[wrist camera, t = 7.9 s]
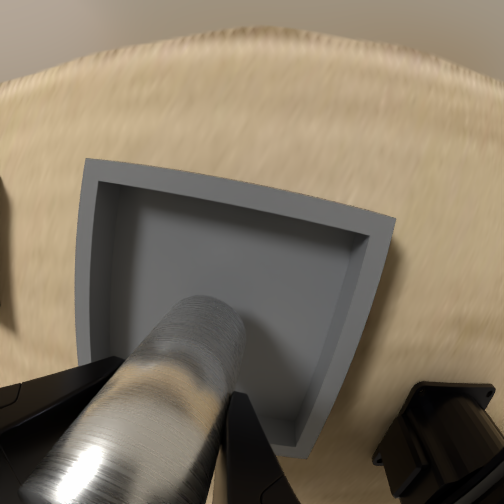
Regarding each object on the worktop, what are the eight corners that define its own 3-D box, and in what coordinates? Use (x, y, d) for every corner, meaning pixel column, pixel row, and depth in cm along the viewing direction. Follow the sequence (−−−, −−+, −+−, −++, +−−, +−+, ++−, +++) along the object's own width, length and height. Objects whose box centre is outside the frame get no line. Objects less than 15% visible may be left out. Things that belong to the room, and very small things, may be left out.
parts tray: (375, 212, 12) (396, 218, 10) (305, 426, 15) (306, 459, 12) (116, 161, 13) (85, 158, 10) (103, 374, 15) (82, 397, 13)
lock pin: (253, 306, 11) (190, 553, 2) (237, 377, 12) (182, 590, 3) (169, 286, 11) (-7, 457, 3) (162, 357, 12) (44, 532, 3)
